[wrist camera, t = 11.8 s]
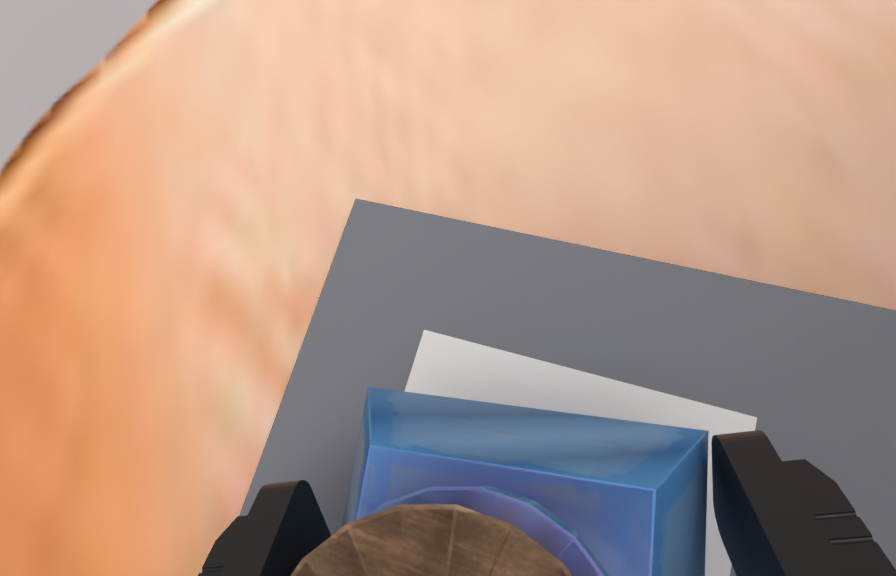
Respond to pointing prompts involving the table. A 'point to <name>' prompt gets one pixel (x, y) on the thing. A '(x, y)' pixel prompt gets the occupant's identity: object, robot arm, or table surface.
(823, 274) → the table surface
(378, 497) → the perfume bottle
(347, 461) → the mat
